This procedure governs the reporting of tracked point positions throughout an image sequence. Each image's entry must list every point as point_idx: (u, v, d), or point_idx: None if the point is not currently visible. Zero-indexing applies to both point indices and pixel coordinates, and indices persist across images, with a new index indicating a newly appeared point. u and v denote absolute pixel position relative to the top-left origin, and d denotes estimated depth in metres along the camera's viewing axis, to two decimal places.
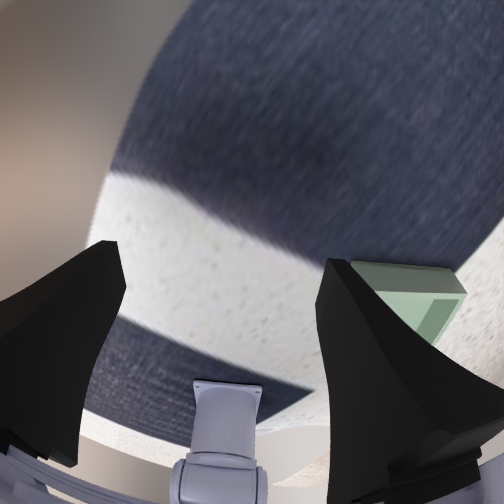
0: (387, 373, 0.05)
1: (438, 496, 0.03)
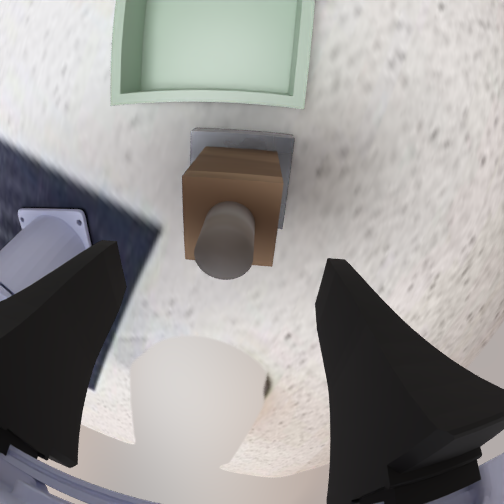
0: (387, 373, 0.05)
1: (438, 496, 0.03)
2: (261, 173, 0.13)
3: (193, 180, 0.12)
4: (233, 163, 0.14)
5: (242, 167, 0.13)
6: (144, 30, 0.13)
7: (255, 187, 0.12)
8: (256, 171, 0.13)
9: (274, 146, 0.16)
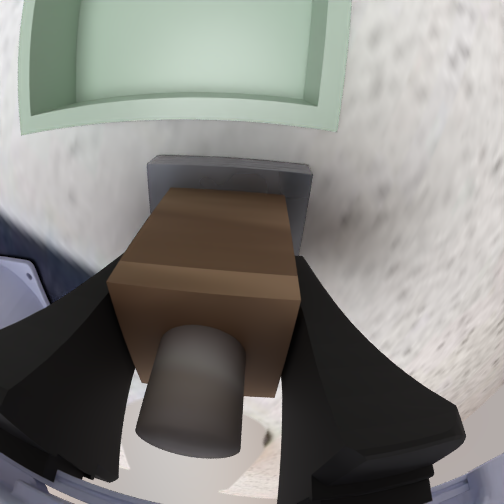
0: (315, 376, 0.05)
1: None
2: (257, 265, 0.07)
3: (126, 290, 0.06)
4: (207, 235, 0.08)
5: (222, 247, 0.07)
6: (80, 13, 0.07)
7: (244, 307, 0.06)
8: (248, 260, 0.07)
9: (280, 187, 0.10)
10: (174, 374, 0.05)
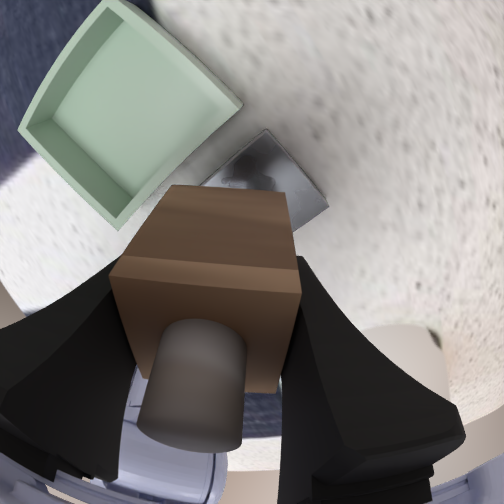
0: (315, 376, 0.05)
1: None
2: (258, 260, 0.07)
3: (128, 283, 0.06)
4: (209, 230, 0.08)
5: (224, 242, 0.07)
6: (93, 160, 0.17)
7: (246, 300, 0.06)
8: (249, 254, 0.07)
9: (258, 151, 0.16)
10: (176, 367, 0.05)
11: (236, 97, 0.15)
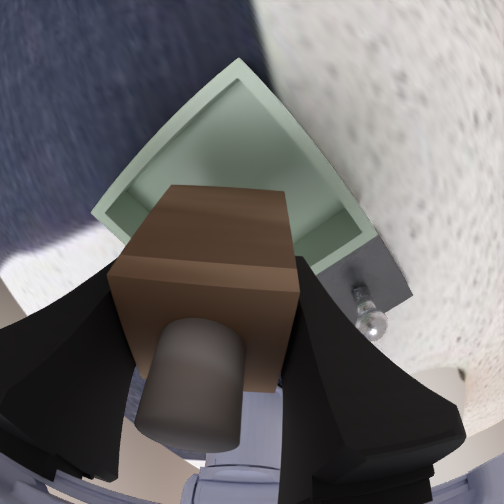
0: (315, 376, 0.05)
1: None
2: (256, 258, 0.07)
3: (126, 283, 0.06)
4: (207, 229, 0.08)
5: (222, 241, 0.07)
6: None
7: (244, 299, 0.06)
8: (247, 253, 0.07)
9: (369, 254, 0.17)
10: (173, 366, 0.05)
11: None
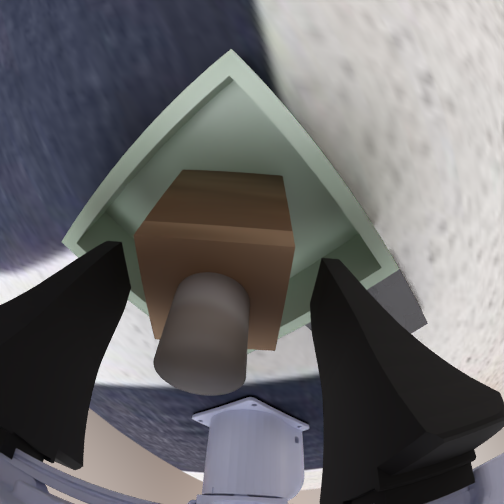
0: (378, 374, 0.05)
1: (430, 499, 0.03)
2: (259, 223, 0.08)
3: (151, 241, 0.07)
4: (217, 202, 0.09)
5: (230, 211, 0.09)
6: None
7: (249, 253, 0.07)
8: (251, 219, 0.08)
9: (384, 284, 0.14)
10: (190, 308, 0.07)
11: None
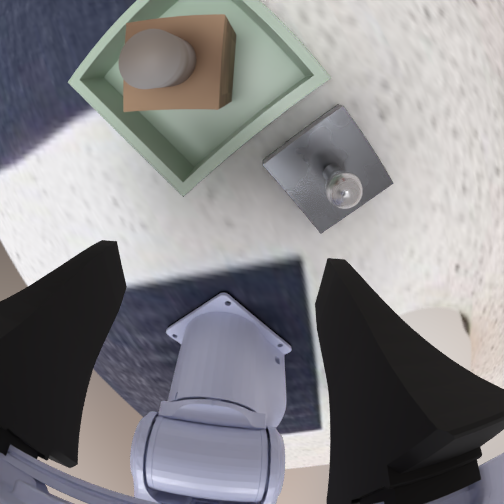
0: (387, 373, 0.05)
1: (438, 496, 0.03)
2: None
3: (136, 24, 0.09)
4: None
5: None
6: (151, 123, 0.16)
7: (196, 20, 0.09)
8: None
9: (334, 124, 0.15)
10: None
11: None
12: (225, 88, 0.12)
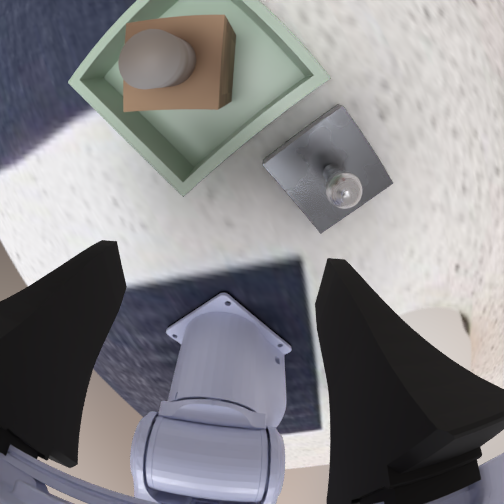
0: (387, 373, 0.05)
1: (438, 496, 0.03)
2: None
3: (136, 24, 0.09)
4: None
5: None
6: (151, 123, 0.16)
7: (195, 20, 0.09)
8: None
9: (334, 124, 0.15)
10: None
11: None
12: (225, 88, 0.12)
